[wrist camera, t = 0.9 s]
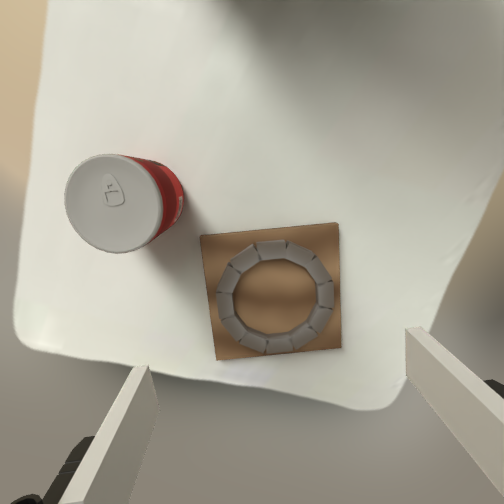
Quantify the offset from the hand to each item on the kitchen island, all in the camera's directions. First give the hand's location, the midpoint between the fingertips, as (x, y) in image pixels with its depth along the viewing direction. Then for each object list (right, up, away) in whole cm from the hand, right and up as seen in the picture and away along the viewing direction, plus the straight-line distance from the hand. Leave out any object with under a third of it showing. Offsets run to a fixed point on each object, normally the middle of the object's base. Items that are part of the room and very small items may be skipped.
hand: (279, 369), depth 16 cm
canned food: (-13, +12, +20) cm, 26 cm away
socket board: (+1, +1, +23) cm, 23 cm away
